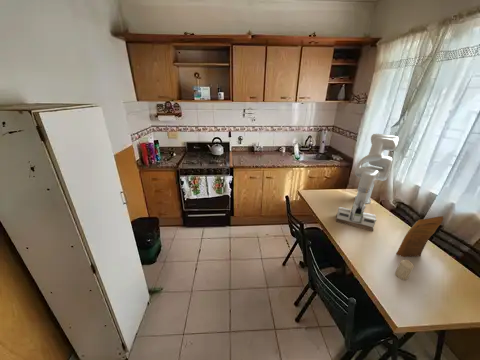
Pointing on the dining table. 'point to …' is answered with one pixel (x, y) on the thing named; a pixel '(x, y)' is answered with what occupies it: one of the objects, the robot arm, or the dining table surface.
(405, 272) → the candle
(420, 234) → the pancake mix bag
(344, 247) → the dining table surface
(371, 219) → the rail board
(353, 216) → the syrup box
